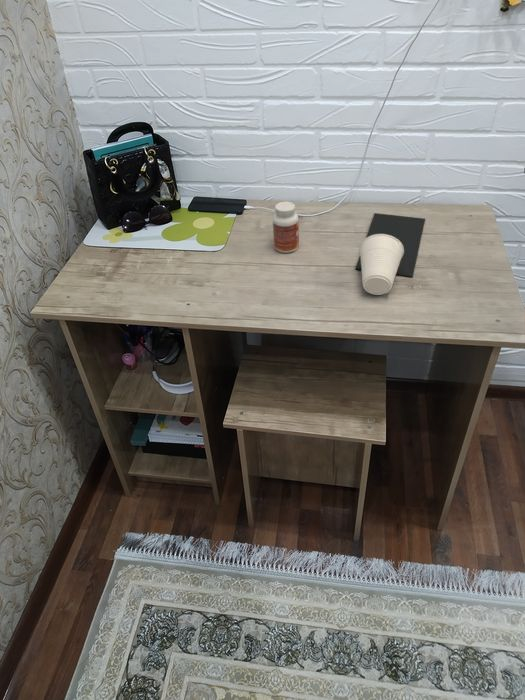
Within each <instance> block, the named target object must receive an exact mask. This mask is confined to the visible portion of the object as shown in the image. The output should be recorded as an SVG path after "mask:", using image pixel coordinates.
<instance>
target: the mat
mask: <svg viewBox="0 0 525 700" xmlns="http://www.w3.org/2000/svg"><path fill="white" fill-rule="evenodd" d="M425 222H426V218H425V217H424V218H423V217H414V216H406V215H405V216H404V215H398V214H397V215H396V214H388V213H377V212H374V213H373V217H372V219H371V222H370V225H369V227H368V231H367V233H366V237H365V239H366V238H367V237H369V236H372V235H375V234H387V235H390V236H393V237H395V238H397V239H398V240H399V241H400V242H401V243H402V245H403V247H404V254H403V257H402V258H401V261H400V264H399V266H398V269H397V273H396V276H398V277H407V278H413V276H414V272H415V268H416V265H417V264H416V263H417V258H418V254H419V250H420V244H421V240H422V237H423V231H424V227H425ZM354 269H355V271H360V272H362V270H361V257H360V256H359V257H358V260H357V263H356V265H355V267H354Z"/></svg>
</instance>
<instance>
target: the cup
mask: <svg viewBox="0 0 525 700" xmlns="http://www.w3.org/2000/svg"><path fill="white" fill-rule="evenodd" d="M358 253H359V257H361V270H362V271H361V270H360V271H361V283H362V288H363V289H364V290H365V292H367V293H368V294H371V295H374V296H381V295H382V296H383V295H385V294H387V293H389V292H390V291H391V290H392V288H393V285H394V281H395V278H396V276H397V275H396V273H397V269H398V266H399V264H400V261H401V258H402V257H403V254H404V247H403V245H402V243H401V242H400V241H399V240H398V239H397V238H395V237H393V236H390V235H387V234H375V235H372V236H369V237H367V238H366V237H365V238H364V239H363V240H362V241H361V242H360V244H359V248H358Z"/></svg>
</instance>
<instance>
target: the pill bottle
mask: <svg viewBox="0 0 525 700" xmlns="http://www.w3.org/2000/svg"><path fill="white" fill-rule="evenodd" d="M299 220H300V219H299V215H298V213H297V212H296V205H295V203H293V202H291V201H281V202H278V203H276V204H275V206H274V213H273V215H272V235H273V236H272V237H273V247H274V248H273V249H274V250H276V251H277V252H279V253H284V254H290V253H292V252H295V251H296V250H298V249H299V246H300V234H299V233H300V231H299V229H300V228H299V227H300V224H299V223H300V222H299Z"/></svg>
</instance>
